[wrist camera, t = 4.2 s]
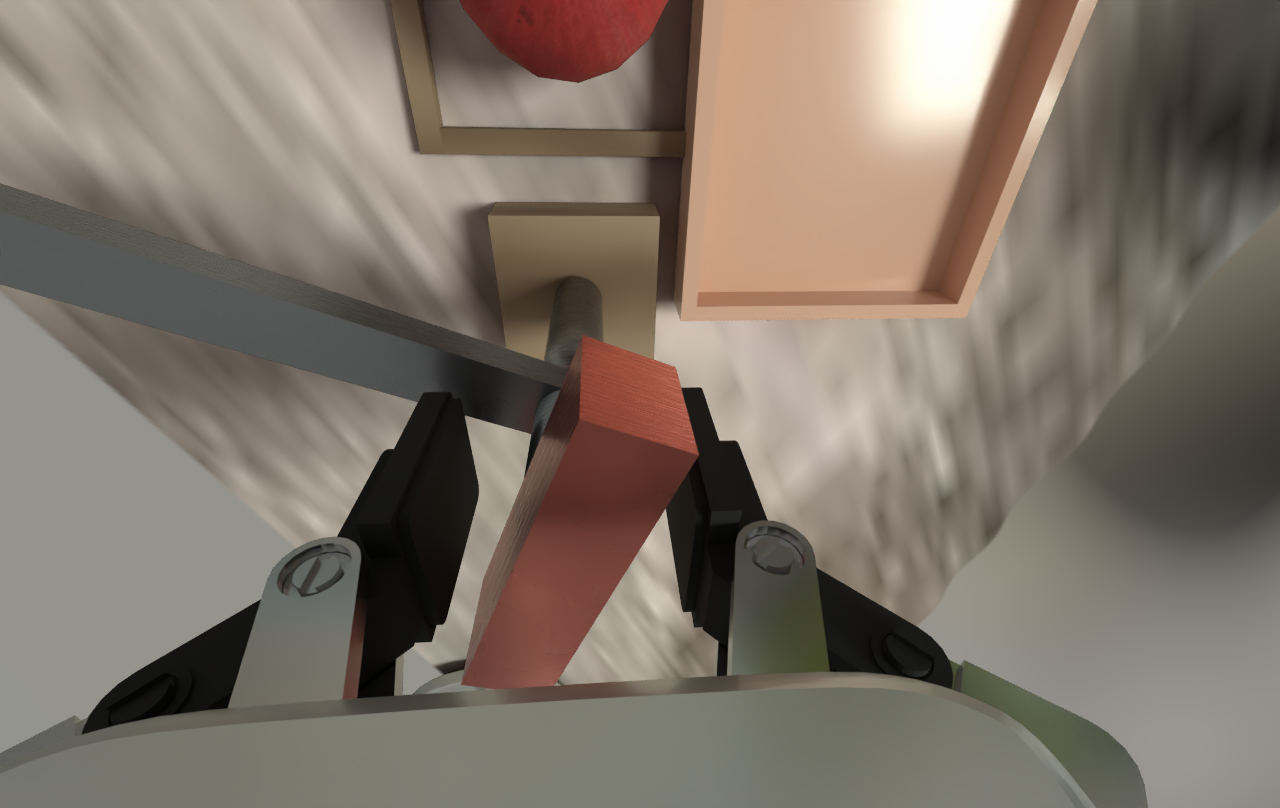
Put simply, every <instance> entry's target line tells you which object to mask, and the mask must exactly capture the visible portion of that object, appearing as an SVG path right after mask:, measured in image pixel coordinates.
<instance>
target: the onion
mask: <svg viewBox="0 0 1280 808" xmlns="http://www.w3.org/2000/svg"><path fill="white" fill-rule="evenodd" d="M460 2H461V4H462V7H463V9H464V10H465V11H466V13H467V14H468V15H469V16H470V17H471V18H472V20H473V21H474V22H475V23H476V24H477V26H478V27H479V28H480V29H481V30H482V32H483V33H484V34H485V35H486V36H487V38H488V39H489V40H490V41H491V42H492V44H493V45H494V46H495V47H496V48H497V49H498V50H499V51H500V52H501V53H503V54H504V55H506V56H507V57H509V58H510V59H512V60H513V61H515V62H516V63H518V64H519V65H521V66H522V67H524V68H525V69H527V70H528V71H530V72H531V73H533V74H534V75H536V76H537V77H542V78H549V79H556V80H563V81H570V82H577V83H579V82H582V81H585V80H588V79H591V78H593V77H596V76H599V75H602V74H605V73H607V72H610V71H613V70H616V69H618V68H619V67H620V66H621V65H622V64H623V63H624V62H625V61H626V60H627V59H628V58H629V57H630V56H632V55H633V54H634V53H635V52H636V51H637V50H638V49H639V48H640V47H641V46H642V45H643V44H644V43H645V42H647V41H648V40H649V38H650V36H651V34H652V32H653V30H654V28H655V26H656V24H657V22H658V20H659V18H660V16H661V14H662V12H663V10H664V8H665V6H666V4H667V2H668V0H460Z"/></svg>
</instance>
